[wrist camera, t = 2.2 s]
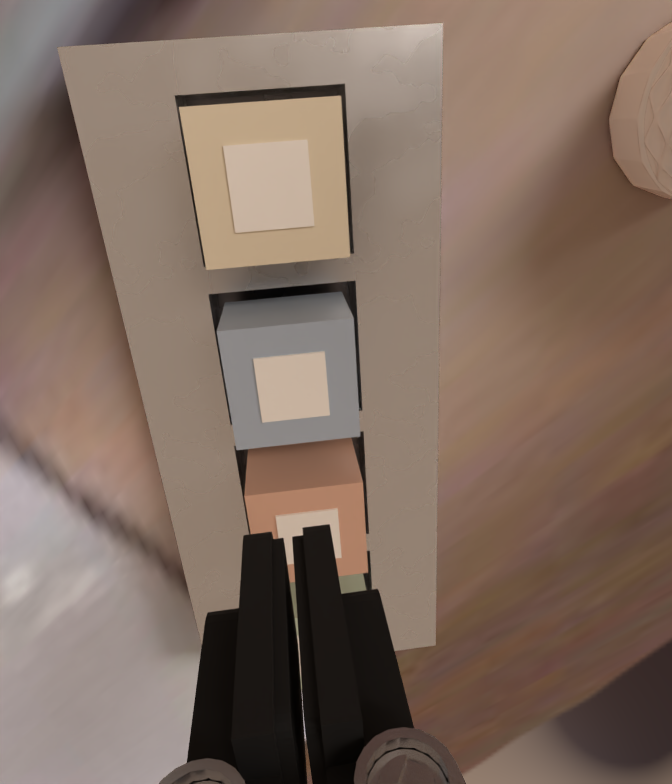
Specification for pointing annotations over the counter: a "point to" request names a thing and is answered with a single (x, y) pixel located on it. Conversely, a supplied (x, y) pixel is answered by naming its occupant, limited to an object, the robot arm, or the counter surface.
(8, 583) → the counter surface
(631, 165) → the white cup
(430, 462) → the keyguard pad
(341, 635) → the robot arm
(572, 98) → the counter surface
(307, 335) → the key
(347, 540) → the key
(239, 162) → the key
